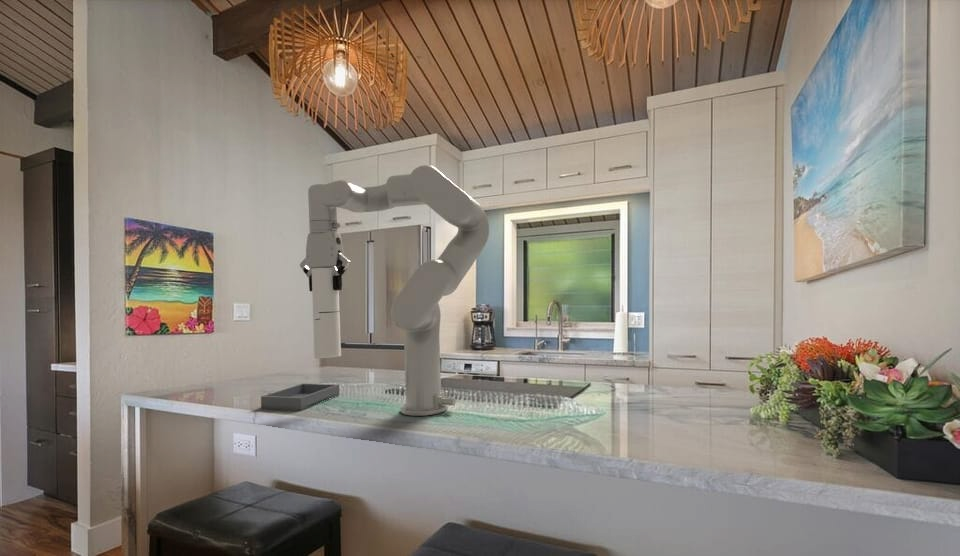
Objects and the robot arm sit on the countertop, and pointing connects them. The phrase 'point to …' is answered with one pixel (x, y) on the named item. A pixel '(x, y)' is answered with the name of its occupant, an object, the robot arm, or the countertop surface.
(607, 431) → the countertop surface
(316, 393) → the charcoal tray
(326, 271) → the cylindrical container
